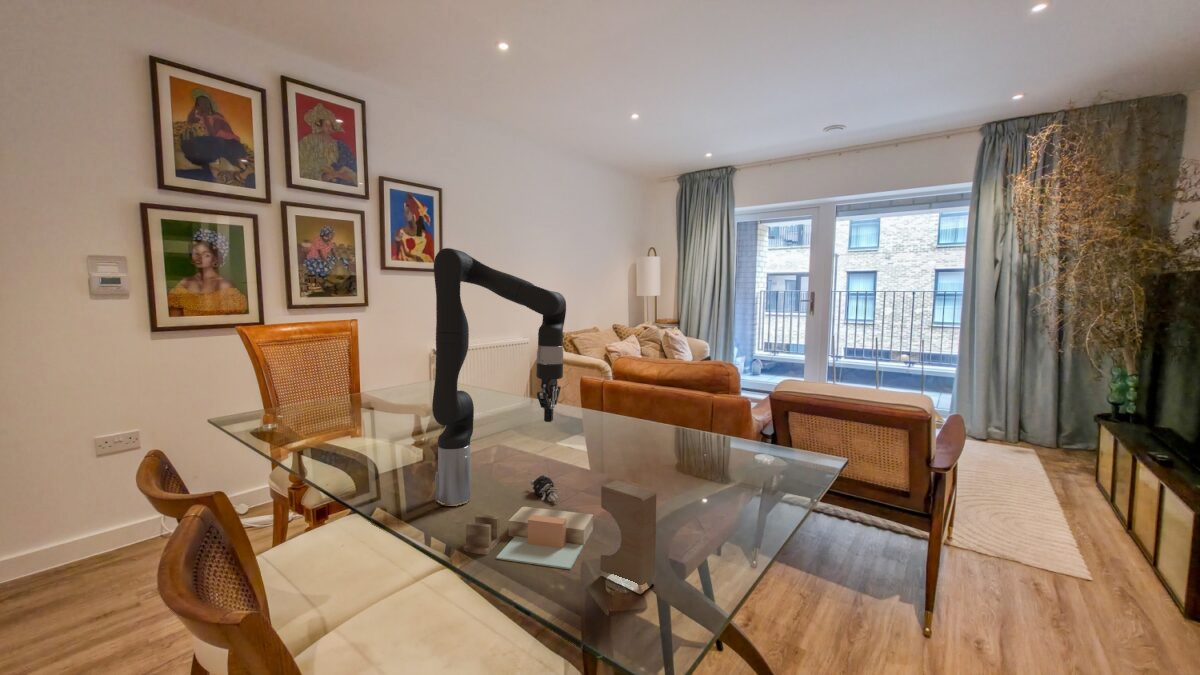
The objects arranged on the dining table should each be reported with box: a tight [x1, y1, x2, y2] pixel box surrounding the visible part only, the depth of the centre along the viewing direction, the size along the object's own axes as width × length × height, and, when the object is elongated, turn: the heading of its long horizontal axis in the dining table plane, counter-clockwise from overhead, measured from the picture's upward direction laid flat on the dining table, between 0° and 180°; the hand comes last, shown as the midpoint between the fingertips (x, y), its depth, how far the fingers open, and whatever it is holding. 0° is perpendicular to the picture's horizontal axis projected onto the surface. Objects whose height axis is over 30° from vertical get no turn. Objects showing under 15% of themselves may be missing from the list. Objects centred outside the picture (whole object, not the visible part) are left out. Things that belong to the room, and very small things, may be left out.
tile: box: [528, 515, 566, 548], centre depth 114 cm, size 9×6×3 cm
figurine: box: [530, 475, 560, 504], centre depth 145 cm, size 7×6×15 cm
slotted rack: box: [463, 513, 503, 556], centre depth 113 cm, size 6×8×6 cm
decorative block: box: [599, 479, 657, 585], centre depth 99 cm, size 11×6×20 cm, turn 49°
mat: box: [495, 536, 584, 570], centre depth 110 cm, size 18×10×1 cm, turn 76°
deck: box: [508, 506, 594, 547], centre depth 120 cm, size 20×9×4 cm, turn 76°
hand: (548, 421), depth 133 cm, fingers closed
